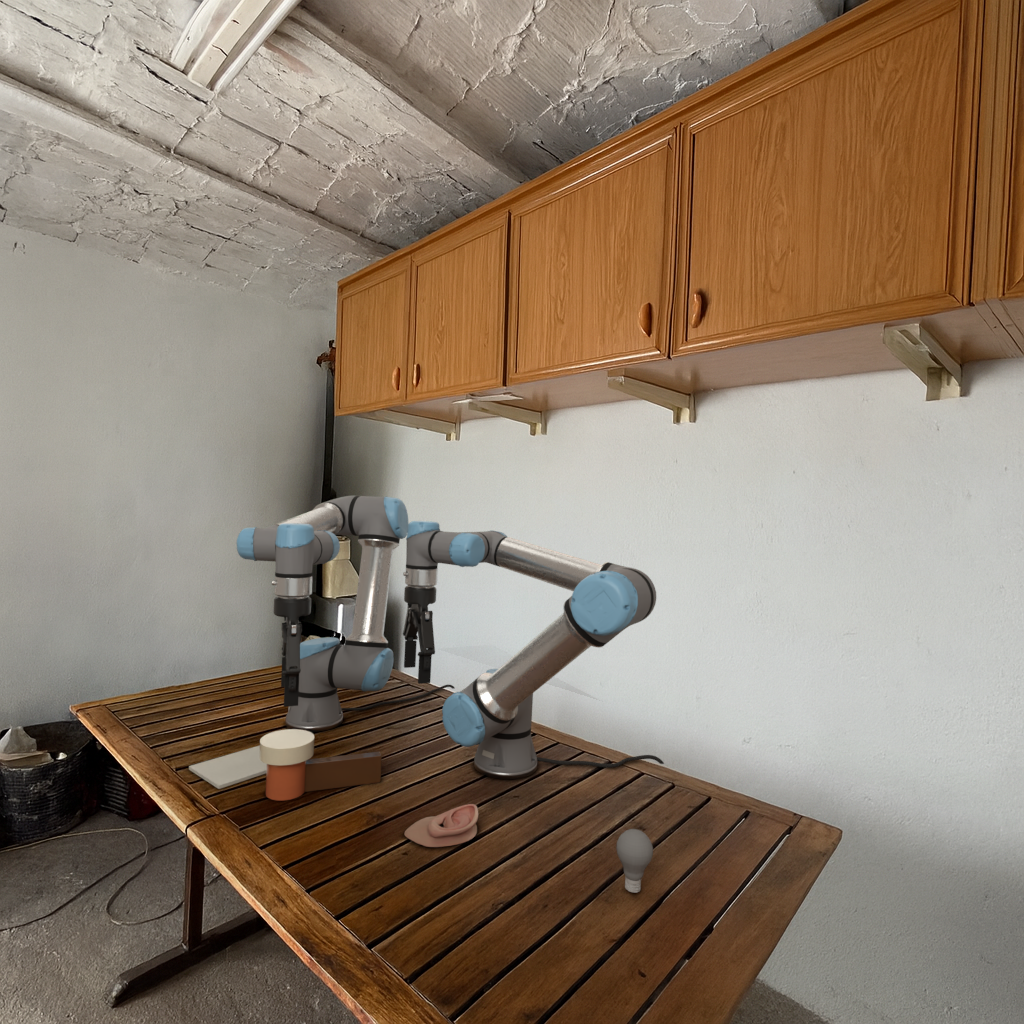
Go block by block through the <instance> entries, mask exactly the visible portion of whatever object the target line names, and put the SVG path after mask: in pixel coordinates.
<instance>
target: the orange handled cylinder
mask: <svg viewBox="0 0 1024 1024" xmlns="http://www.w3.org/2000/svg"><path fill="white" fill-rule="evenodd" d="M381 778H382V753H381V752H380V751H371V752H364V753H355V754H354V753H353V754H346V755H335V756H326V757H319V758H317V757H316V758H310V759H308V760H306V761H304V762H301V763H297V764H292V765H282V766H279V765H269V764H267V768H266V774H265V797H266V798H268V799H269V800H272V801H277V802H281V801H282V802H283V801H290V800H294V799H297V798H299V797H301V796H302V795H303V794H305V793H306V792H307V793H308V792H315V791H316V792H317V791H322V790H330V789H331V790H332V789H339V788H346V787H354V786H361V785H362V786H363V785H369V784H376V783H381V781H382V780H381Z"/></svg>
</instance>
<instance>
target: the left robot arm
mask: <svg viewBox="0 0 1024 1024" xmlns="http://www.w3.org/2000/svg"><path fill="white" fill-rule="evenodd" d="M409 523H410V522H409V514H408V510H407V506H406V504H405V502H404V501H403V500H402V499H400V498H398V497H392V496H387V495H386V496H375V495H374V496H371V495H346V496H345V495H344V496H340V497H337V498H333V499H330V500H327V501H324V502H321V503H318V504H317V505H315V506H314V507H313V509H312V510H309V511H308V512H304V513H302V514H299V515H295V516H293V517H291V518H287V519H284V520H282V521H279V522H277V523H274V524H271V525H268V526H265V527H257V526H254V527H244V528H243V529H242V530H241V531H240V532H239V533H238V535H237V538H236V551H237V553H238V556H240V558H241V559H243V560H247V561H248V560H249V561H254V562H274V563H275V571H274V579H275V580H272V581H271V585H272V586H274V595H275V597H274V599H273V615H274V616H276V617H280V618H283V622H281V638H282V647H281V651H282V652H281V655H282V657H281V675H280V677H281V679H280V687H281V688H284V690H283V707H284V708H285V707H288V708H287V709H288V711H287V713H286V715H285V726H286V728H287V729H299V730H306V731H309V732H311V733H316V732H325V731H329V730H332V729H335V728H337V727H339V726H340V725H342V723H343V722H344V714H343V712H347V711H349V712H351V711H352V712H360V711H366V710H370V709H373V708H375V707H379V706H385V705H390V704H398V703H404V702H410V701H414V700H418V699H420V698H423V697H426V696H428V695H431V694H433V693H435V692H438V691H441V690H443V689H445V688H451V689H452V690H454V689H455V688H456V687H455V686H454V685H452V684H444V685H442V686H439V687H437V688H434V689H432V690H429V691H428V692H424V693H422V694H419V695H416V696H412V697H411V696H410V697H407V698H402V699H396V700H395V699H394V700H387V701H382V702H378V703H374V704H371V705H367V706H363V707H342V706H341V702H340V699H339V695H338V689H342V690H343V689H344V690H351V691H353V690H354V691H362V692H365V693H366V692H379V691H381V690H382V689H383V688H384V687H385V686H386V685H387V683H388V681H389V679H390V677H391V675H392V671H393V668H394V661H395V657H394V652H393V650H392V649H391V648H389V647H388V646H389V641H388V640H387V638H386V637H385V634H384V632H385V624H386V616H387V608H388V599H389V590H390V581H391V571H392V563H393V555H394V550H395V549H397V548H398V547H399V546H400V540H403V539H405V538H407V532H408V525H409ZM337 535H340V536H342V535H343V536H355V537H358V538H357V543H359V545H360V546H361V547H362V549H361V556H360V565H359V575H358V580H357V589H356V598H355V605H354V612H353V613H354V614H353V622H352V628H351V633H350V634H349V635H348V636H347V637H346V638H345V640H344V641H345V642H344V644H340V643H341V641H340V639H339V638H338V637H334V636H331V637H330V636H326V637H327V638H325V637H320V638H317V639H312V640H307V641H305V640H304V641H302V633H303V624H302V622H301V621H300V620H299V618H300V617H306V616H309V615H310V614H311V613H312V597H311V595H312V594H313V567H314V566H315V565H320V564H321V565H325V564H327V563H328V562H332V561H333V560H334V559H336V558H337V556H338V555H339V553H340V549H341V544H340V540H339V538H338V536H337Z"/></svg>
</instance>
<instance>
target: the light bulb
mask: <svg viewBox="0 0 1024 1024" xmlns="http://www.w3.org/2000/svg"><path fill="white" fill-rule="evenodd" d="M615 849H616V854H617V857H618V859H619V861H620V863H621V865H622V867H623V873H624V874H623V875H624V876H625V878H624V888H625V890H627V891H628V892H630V893H634V894H635V893H639V892H640V891H641V889H642V887H641V886H642V879H643V877H644V875H645V871H646V868H647V867H648V866H649V864H650V863H651V861H652V859H653V855H654V847H653V843H652V841H651V838H649V836H648V835H647V834H646V833H645V832H643V831H642V830H641V829H636V828H629V829H627V830H625V831H623V832H622V833H621V834H620V835H619V837H618V839H617V841H616V847H615Z"/></svg>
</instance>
